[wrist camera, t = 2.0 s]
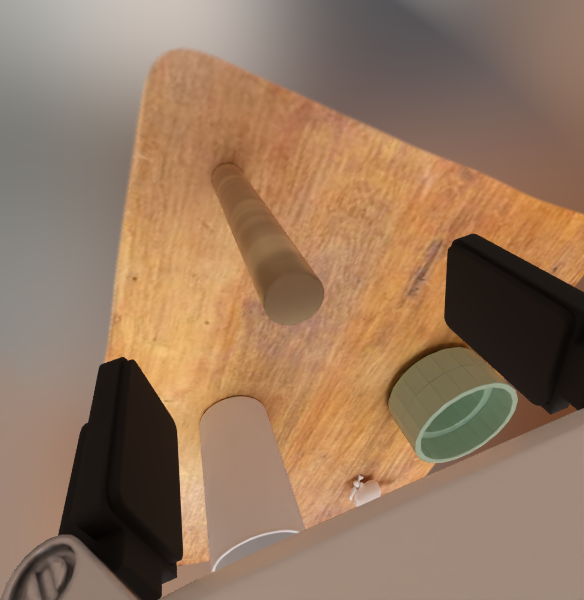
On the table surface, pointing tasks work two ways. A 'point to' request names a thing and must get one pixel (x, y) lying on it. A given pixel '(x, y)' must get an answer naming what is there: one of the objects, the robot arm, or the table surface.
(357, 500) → the rabbit figurine
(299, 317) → the stick
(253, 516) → the mug
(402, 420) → the bowl
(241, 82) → the table surface
